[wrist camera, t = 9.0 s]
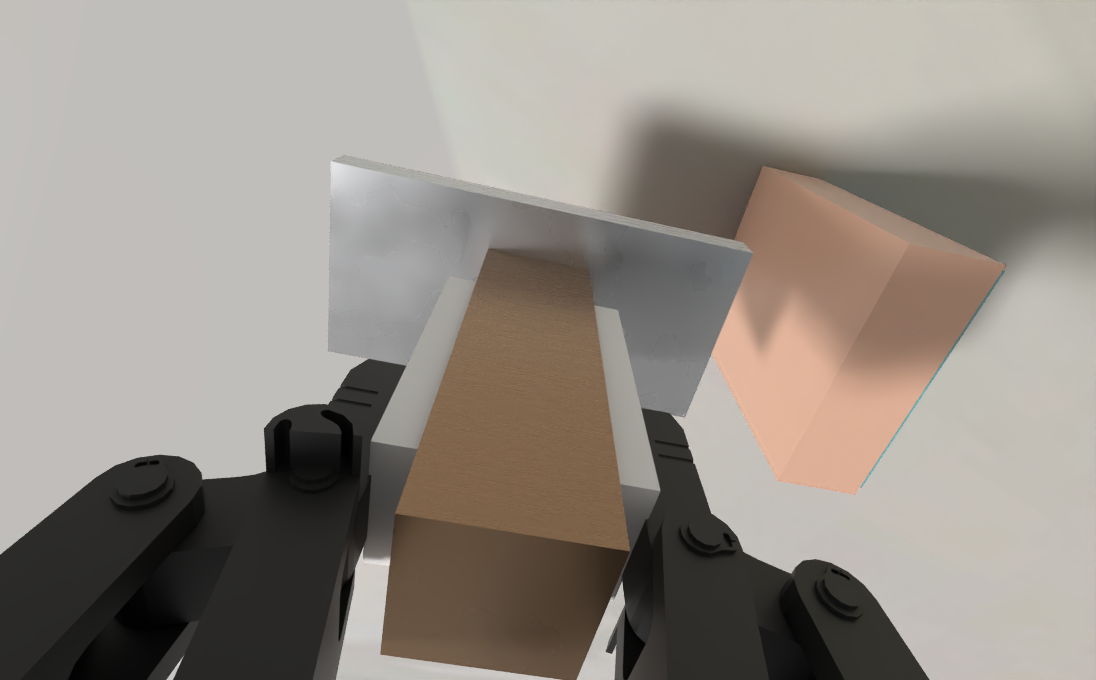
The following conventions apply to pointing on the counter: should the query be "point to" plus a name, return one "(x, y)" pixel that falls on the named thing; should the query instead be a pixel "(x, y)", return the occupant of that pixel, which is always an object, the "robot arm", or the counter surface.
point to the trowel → (515, 398)
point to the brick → (840, 325)
